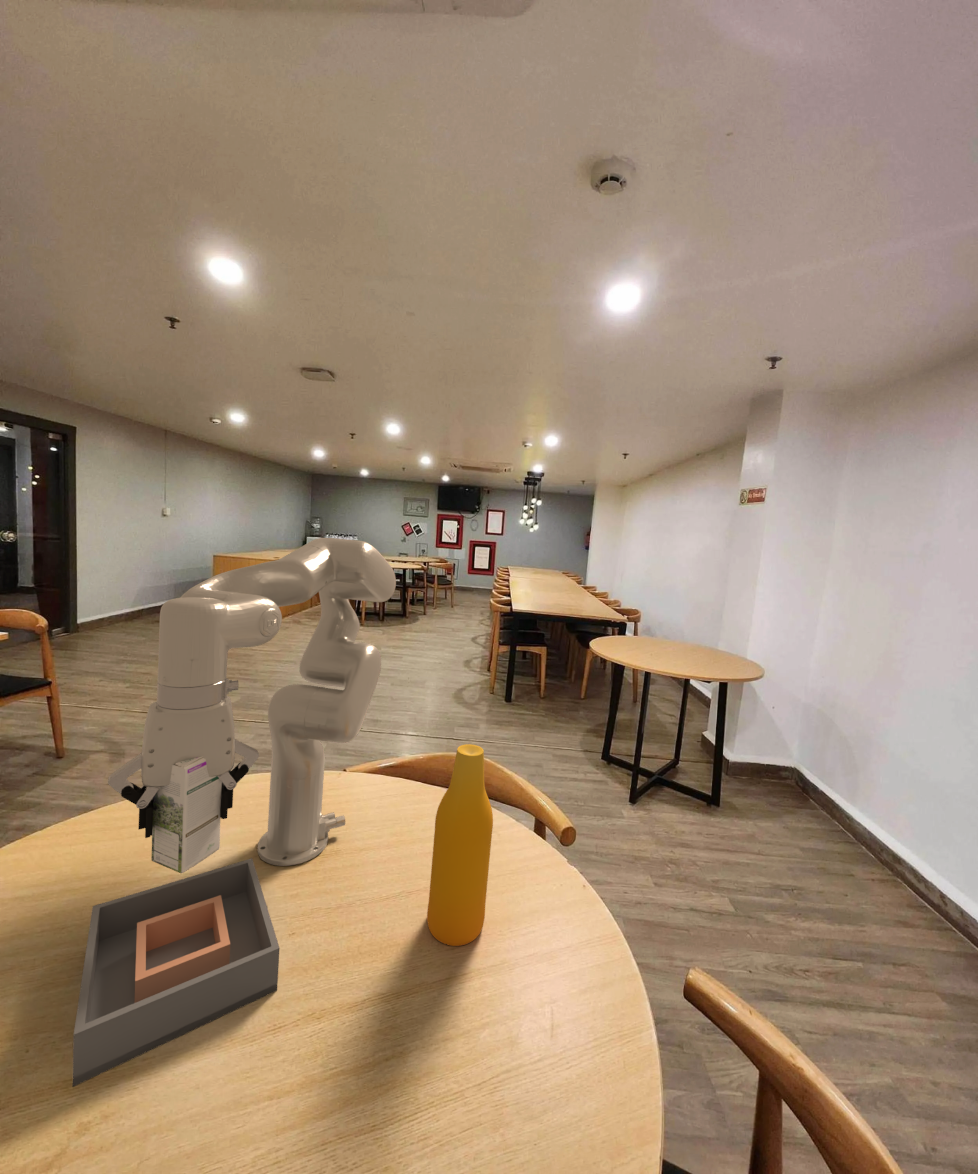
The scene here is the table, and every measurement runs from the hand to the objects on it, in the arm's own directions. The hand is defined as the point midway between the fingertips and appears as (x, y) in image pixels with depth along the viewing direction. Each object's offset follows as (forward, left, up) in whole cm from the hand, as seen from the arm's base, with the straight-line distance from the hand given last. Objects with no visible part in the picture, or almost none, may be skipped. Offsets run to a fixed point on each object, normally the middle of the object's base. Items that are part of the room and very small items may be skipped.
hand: (187, 821), depth 60 cm
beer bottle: (-36, +13, -21) cm, 44 cm away
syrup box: (0, 0, -5) cm, 5 cm away
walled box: (0, 0, -21) cm, 21 cm away
